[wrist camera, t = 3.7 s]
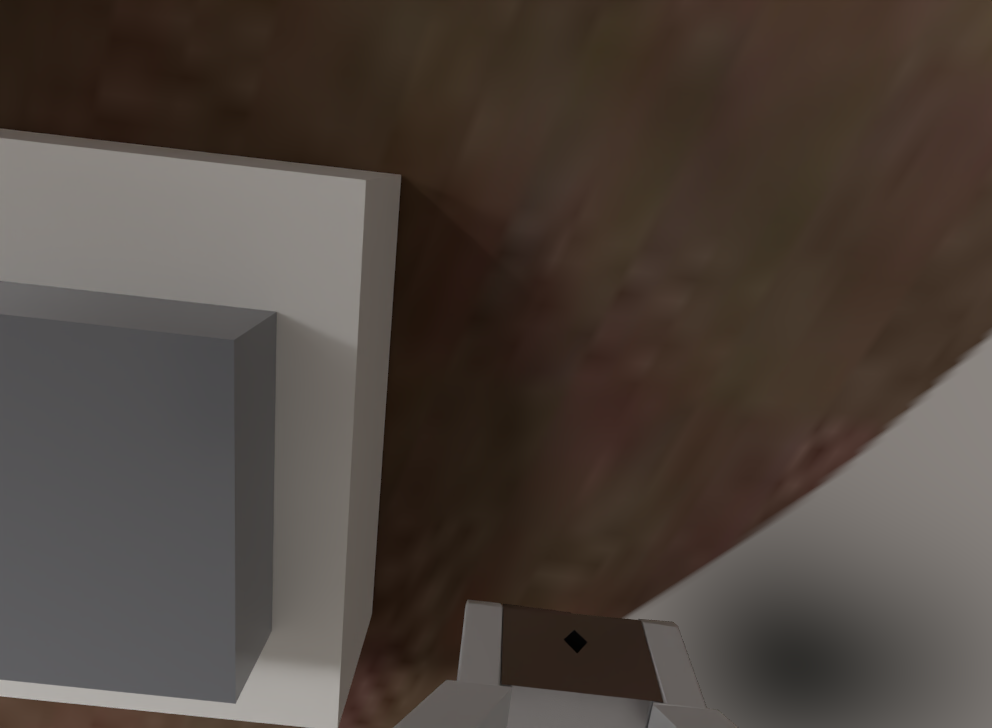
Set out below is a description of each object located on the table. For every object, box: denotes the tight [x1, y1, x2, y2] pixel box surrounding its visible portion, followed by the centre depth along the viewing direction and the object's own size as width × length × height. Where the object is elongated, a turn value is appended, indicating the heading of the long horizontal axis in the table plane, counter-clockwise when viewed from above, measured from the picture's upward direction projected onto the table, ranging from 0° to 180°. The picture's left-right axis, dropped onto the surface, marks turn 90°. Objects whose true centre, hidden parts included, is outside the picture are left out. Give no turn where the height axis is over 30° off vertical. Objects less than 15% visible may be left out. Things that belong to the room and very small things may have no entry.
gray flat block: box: [0, 281, 277, 704], centre depth 12 cm, size 9×7×2 cm
